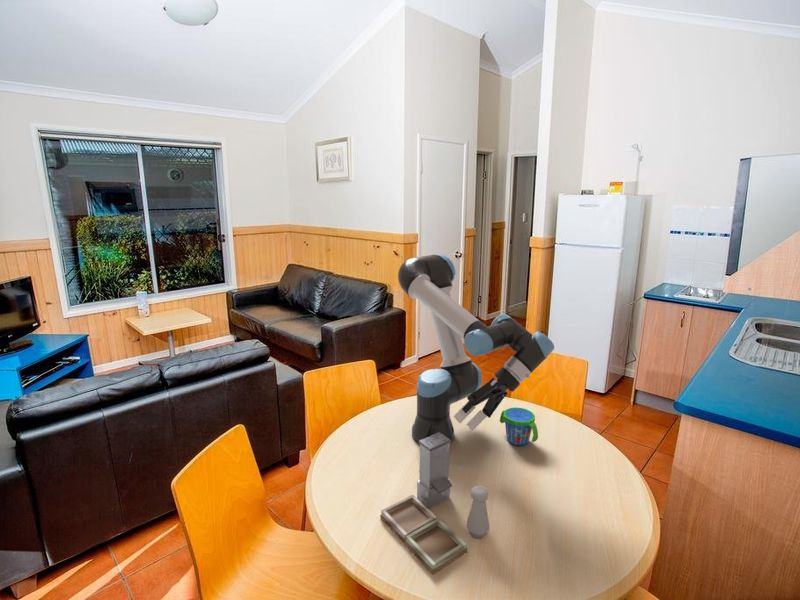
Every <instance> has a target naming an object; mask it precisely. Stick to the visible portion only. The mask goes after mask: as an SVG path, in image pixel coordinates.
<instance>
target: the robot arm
mask: <svg viewBox="0 0 800 600" xmlns="http://www.w3.org/2000/svg"><path fill="white" fill-rule="evenodd" d="M455 276H456V268H455V265H454V263H453V261H452V260H451V259H450V257H447V256H445V254H430V255H423V256H417V257H410V258H408V259H406V260H405V261H404V262H403V263H402V264H401V265H400V267H399V268H398V273H397V280H398V284H399V285H400V288H401V289H402V291H404V293H405V294H406V295H407V296H408V297H410V299H417V300H418V301H419V302H420V303H422V305H424V306H425V307H426V308H427V309H428V310H429V311H430V313H431V317H432V321H433V325H434V330H435V335H436V337H437V341H438V347H439V349H440V353H441V357H442V362H440V363H441V364H440V365H439V366H440V368H431V369H430V368H429V369H427V370H425V371H423V372H422V373H421V374H420V375H419V376H418V378H417V384H416V416H415V419H414V422H413V424H412V427H411V437H412V439H413V440H414V441H415V442H417V443H418V444H419V440H422V439H424V438H427V437H429V436H431V435H434V434H436V433H439V432H440V433H441V434H443V435H444V436H446V437H447V438H449V439H450V440H451V442H452V441H453V440H454V438H455V428H454V426H453V422H452V419H451V415H450V413H451V406H452V405H453V404H454V403H457V402H459V401H462V400H464V399H467V400H468V401H467V402H466V403H465V404H464V405H463V406H462V407H461V408H460V409H459V410H458V411H457V412H456V413H455V414H454V415H453V418H454V419H455V420H456V421H457V422H458V423H459V424H461V423H462V422H463V421H465V419H466V418H467V417H469V415H470V414H471V413H473V411H474V410H475V409H476V407H477V406H478V405H479V404H482V403H483V402H485V401H486V400H487V401H486V402H485V404H484V406H483V408H482V410H481V409H480V410H479V411H478V412H477V413H476V414H475V415H474V416H473V417H471V419H469V421H468V422H467V423H466V426H467V427H468V428H469V429H470V430H471V431H472V432H473V431H474V430H475V429H476V428H477V427H478V426H479V425H480V424H481V423H482V422H483V421H484V420H485V419H486V418H488V419H490V418H491V417H492V415H493V413H494V412H496V410H497V408H498V407H499V405H501V403H502V402H503V400H504V398H506V397H507V396H508V393H509V392H507V390H509V391H510V392H515V390H516V389H517V388H518V387H520V385H521V383H523V382H524V381H526V379H530V375H531V374H532V373H533V372H534V371H535V370H536V368H538V367H540V365H541V364H542V363H543V362H544V361H545V360H546V359H548V357H549V356H550V354H552V352H553V351H554V350H555V344H554V342H553V341H552V340H551V339H550V338H549V337H548V336H546V334H544V333H542V332H541V331H536V332H534V333H532V332H529V331H528V330H527V329H526V328H525V327H523V325H521V324H520V323H519V322H518V321H517V320H516V319H514V318H512V317H511V316H509V315H508V314H507V313H500V314H499V315H498V316H496V317H495V318H494V319H493V321H491V324H490V325H489V326H487V325H486V324H485V323H483V322H482V321H481V320H479V319H478V318H476V316H474V315H473V314H472V313H471V312H469V311H468V310H467V309H466V308H464V307H463V306H462V305H460V304H459V303H458V302H457V301H455V299H453V298H452V296H451V291H452V289H453V281H454V280H455ZM505 347H509V348H510V349H511V350H512V351H513V352H515V353H514V354H512V356H510V358H509V359H507V361H505V363H504V364H503V366H502V367H500V368H499V369H498V370H497V371H496V372H495V373H494V377H492V378H490V379H489V381H488V382H487V383H485V384H483V374H482V371H481V369H480V367H478V364H475V363H474V362H472V357H469V356H467V354H466V351H467V353H468V354H470V355H471V356H474V357H479V356H484V355H488V354H489V353H491V352H494V351H496V350H500V349H503V348H505ZM465 349H466V351H465ZM496 378H497V379H496ZM520 382H521V383H520ZM482 384H483V385H482Z"/></svg>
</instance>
